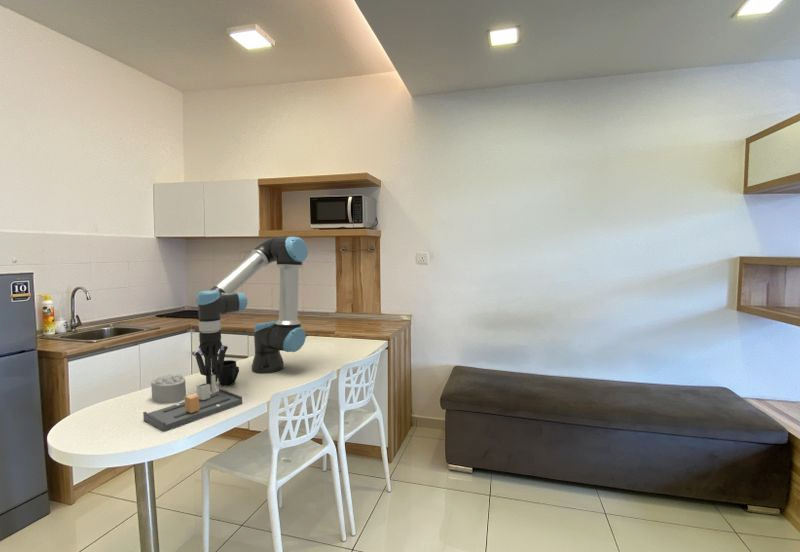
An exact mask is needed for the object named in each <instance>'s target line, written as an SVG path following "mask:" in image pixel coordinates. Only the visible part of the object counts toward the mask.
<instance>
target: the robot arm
mask: <svg viewBox="0 0 800 552" xmlns="http://www.w3.org/2000/svg"><path fill="white" fill-rule="evenodd" d="M308 250H309V249H308V246H307V244H306V242H305V240H304V239H302V238H301V237H298V236H273V237H271V238H270V237H269V238H268V239H266V240H265V241H263V242H261V243H260V244H258V245H257V246H255V248H254V249H252V250H251V252H250V255H248V256H247V257H246V258H245V259H244V260H243V261H242V262H241V263H240V264H238V265H237V266H236V267H235V268H234V269H233V270H231V271H230V272H229V273H227V275H225V276H224V278H222V279H221V280H220V281H219V282H218V283H216V284H215V285H214V286H212V288H210V289H209V290H202V291H199V292H198V294H197V296H196V301H195V302H196V305H197V309H198V331H200V332H199V334H198V338H199V340H198V341H199V345H198V349H197V350H196V351H192V355H193V356H194V357H195V360H196V364H197V366H198V370H199V374H200V375H202V376H205V383H208V384H209V385H210V393H214V392H217V385H216V384H217V383H218V378H217V375H218V374H219V373H218V372H221V371H222V368H223V363H224V361H225V357H226V352H227V350H228V348H229V347H228V346H227V345H224V344H223V343H222V331H221V330H222V325H221V319H222V318H221V315H222V314H223V315H224V314H229V313H235V312H236V313H238V312H242V311H244V310H245V309H246V308H247V307H248V297H247V295H246V294H245V293H243V292H237V290H238V289H240V288H241V287H242V286H243V285H244V284H245V283H247V282H248V281H249V280H250V279H251V278H252V277H253V276H254V275H255V274H256V273H257V272H258V271H259V270H261V269H262V268H263V267H267V266H268V265H269V264H272V263H273V262H276V266H277V267H278V268H279V292H278V293H279V294H278V296H279V297H278V299H279V300H278V301H279V302H278V320H273V321H266V322H259V323H257V324H255V325H254V327H253V328H254V329H253V338H254V340H253V341H254V342H253V343H254V356H253V359H252V364H251V372H252V373H256V374H270V373H275V372H278V371H281V370H283V369H284V368H285V363H284V358H283V357H282V355H281V351H283V352H285V353H289V352H290V353H295V352H298V351H299V350H301V349H302V347H303V346H304V344H305V342H306V338H307V337H306V336H307V333H306V331H305V329H304V328H302V322H301V321H300V320H299V319H298V317H299V316H298V315H299V314H298V313H299V278H300V277H299V276H300V275H299V274H300V273H299V272H300V268H301V267H303V262H304V261H305V260H306V259H307V257H308V252H309V251H308ZM202 354H203V357H204V358H203V357H202Z"/></svg>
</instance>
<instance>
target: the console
mask: <svg viewBox="0 0 800 552" xmlns="http://www.w3.org/2000/svg"><path fill="white" fill-rule="evenodd" d="M242 404H243V397H242V396H240V395H238V394H235V393H234V392H231V391H228V390H225V389H223V388H218V391H217V390H216V392H210V398H208V399H205V400H201V399H199V411H196V412H193V413H190V412H188V411H185V401H183V402H182V401H181V402H178V403H175V404H173V405H170V406H167V407H163V408H161V409H157V410H154V411H151V412H146V411H143V412H142V413H143V415H142V416H143V421H144V422H145V423H148V424H150V425H152V426H153V427H155V428H156V429H159V430H161V431H162V432H163V433H164V432H167V431H170V430H173V429H175V428H178V427H181V426H183V425H187V424H191V423H192V422H195V421H198V420H200V419H203V418H207V417H208V416H212V415H214V414H218V413H220V412H223V411H225V410H229V409H231V408H234V407H237V406H241V405H242Z"/></svg>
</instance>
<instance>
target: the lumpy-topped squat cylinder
mask: <svg viewBox="0 0 800 552" xmlns="http://www.w3.org/2000/svg"><path fill="white" fill-rule="evenodd" d="M150 386H151V400H152V402H154V403H156V404H164V405H165V404H166V405H167V404H177V403H181V402H182V401H185V396H187V389H186V378H185V377H184V376H183V375H182V374H181V373H180V374H179V373H178V374H176V375H173V374H167V375H163V376H159V377H156V378H155V379H154V380H152V381H151V385H150Z"/></svg>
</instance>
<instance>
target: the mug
mask: <svg viewBox="0 0 800 552" xmlns="http://www.w3.org/2000/svg"><path fill="white" fill-rule="evenodd" d="M239 372H240V367H239V366H237V360H233V359H231V360H229V359H228V360H227V359H226V360H224V363H223V368H222V371H221V372H218V373H219V374H218V375H217V382H218V384H219V385H220V387H228V386H232V385H234V384H235V382H236V380H237V378H238V376H239Z"/></svg>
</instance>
